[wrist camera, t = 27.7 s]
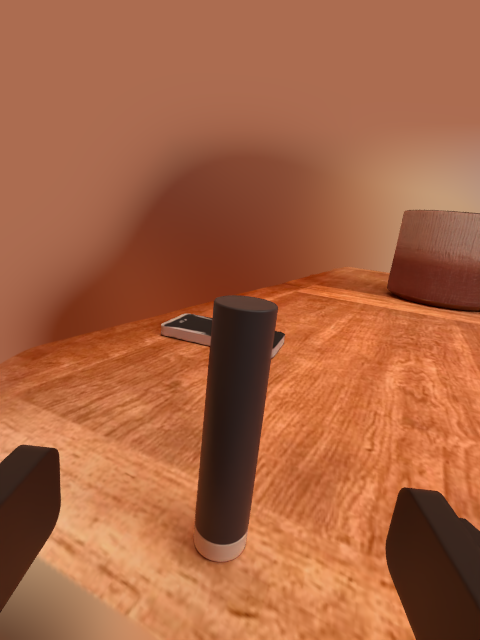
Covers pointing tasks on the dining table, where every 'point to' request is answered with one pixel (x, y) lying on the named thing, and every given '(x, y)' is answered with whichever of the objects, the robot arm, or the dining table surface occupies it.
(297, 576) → the dining table surface
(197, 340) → the smartphone
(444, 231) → the planter
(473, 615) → the robot arm
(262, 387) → the dark grey cylinder
